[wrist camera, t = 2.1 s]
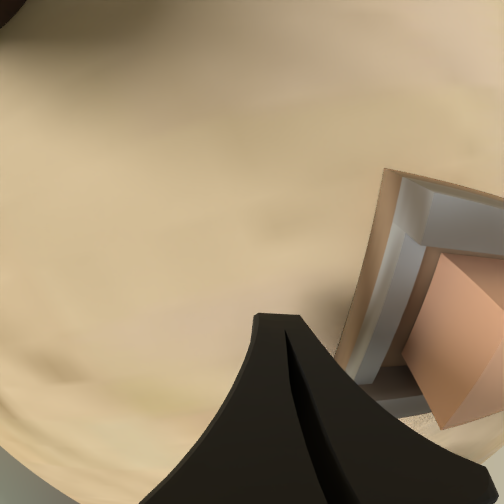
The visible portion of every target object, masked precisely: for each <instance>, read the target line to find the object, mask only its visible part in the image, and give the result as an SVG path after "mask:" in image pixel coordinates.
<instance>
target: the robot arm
mask: <svg viewBox="0 0 504 504" xmlns="http://www.w3.org/2000/svg"><path fill="white" fill-rule="evenodd" d="M498 497H499V495H498V492H497V490H496V488H495V485H494V483H493V481H492V479H491V476H490V474H489V472H488V470H487V468H486V467H485V466H482V465H480V464H477V463H475V462H473V461H470V460H468V459H465V458H463V457H461V456H459V455H456V454H454V453H452V452H450V451H448V450H446V449H444V448H442V447H441V446H439V445H437V444H435V443H433V442H432V441H430V440H428V439H426V438H425V437H423V436H422V435H420V434H418V433H417V432H415V431H414V430H412V429H411V428H410V427H408V426H407V425H405V424H404V423H402V422H401V421H400V420H398V419H397V418H395V417H394V416H393V415H392V414H390V413H389V412H388V411H386V410H385V409H384V408H383V407H382V406H381V405H379V404H378V403H377V402H376V401H375V400H374V399H372V398H371V397H370V396H369V395H368V394H367V393H366V392H365V391H364V390H363V389H361V388H360V387H359V386H358V385H357V384H356V382H355V381H354V380H353V379H352V378H351V377H350V376H349V375H348V374H347V373H346V372H345V371H344V370H343V369H342V368H341V366H340V365H339V364H338V363H337V362H336V361H335V359H334V358H333V357H332V356H331V355H330V353H329V352H328V351H327V350H326V349H325V347H324V346H323V345H322V344H321V342H320V341H319V340H318V338H317V337H316V336H315V334H314V333H313V332H312V330H311V329H310V328H309V327H308V325H307V324H306V323H305V321H304V320H303V319H302V317H301V316H300V315H289V314H269V313H257V314H256V315H254V318H253V326H252V334H251V342H250V345H249V348H248V351H247V354H246V357H245V359H244V362H243V364H242V367H241V369H240V371H239V373H238V375H237V377H236V380H235V382H234V384H233V386H232V388H231V390H230V391H229V393H228V395H227V397H226V399H225V400H224V402H223V404H222V405H221V407H220V409H219V410H218V412H217V414H216V415H215V417H214V418H213V420H212V421H211V423H210V424H209V425H208V427H207V428H206V430H205V431H204V433H203V434H202V435H201V437H200V438H199V439H198V441H197V442H196V443H195V445H194V446H193V447H192V448H191V449H190V451H189V452H188V453H187V454H186V455H185V456H184V458H183V459H182V460H181V461H180V462H179V464H178V465H177V466H176V467H175V468H174V469H173V470H172V471H171V472H170V474H169V475H168V476H167V477H166V478H165V479H164V480H163V481H162V482H160V483H159V484H158V485H157V486H156V487H155V488H154V489H153V490H152V491H151V492H150V493H149V494H148V495H147V496H146V497H145V498H144V499H143V500H142V501H140V502H139V504H494V503H495V502H496V501H497V499H498Z"/></svg>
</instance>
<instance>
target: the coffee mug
mask: <svg viewBox="0 0 504 504" xmlns="http://www.w3.org/2000/svg"><path fill="white" fill-rule="evenodd" d="M25 2H26V0H0V28H2V27H3V26H4V25H5V24H6V23H7V22H8V21H9V20H10V19H11V18H12V17H13V16H14V15H15V14H16V13H17V12H18V10H19V9H20V8H21V7H22V5H23V4H24V3H25Z"/></svg>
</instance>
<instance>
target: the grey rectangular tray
mask: <svg viewBox="0 0 504 504" xmlns="http://www.w3.org/2000/svg"><path fill="white" fill-rule="evenodd" d="M441 253H449V254H458V255H467V256H476V257H485V258H494V259H502V260H504V198H501V197H498V196H495V195H492V194H488V193H485V192H481V191H478V190H474V189H471V188H467V187H464V186H460V185H456V184H452V183H448V182H444V181H440V180H436V179H432V178H428V177H424V176H419V175H415V174H410V173H406V172H401V171H396V170H391V169H386V168H384V172H383V178H382V183H381V188H380V193H379V198H378V203H377V207H376V212H375V216H374V221H373V225H372V230H371V234H370V238H369V242H368V246H367V250H366V254H365V258H364V262H363V265H362V269H361V273H360V277H359V280H358V284H357V287H356V291H355V294H354V298H353V301H352V304H351V308H350V311H349V314H348V317H347V321H346V324H345V327H344V330H343V333H342V336H341V339H340V342H339V345H338V348H337V351H336V354H335V357H334V359H335V361H336V362H337V363H338V364H339V365H340V366H341V368H342V369H343V370H344V371H345V372H346V373H347V374H348V375H349V376H350V377H351V378H352V379H353V380H354V381H355V382H356V384H357V385H358V386H359V387H360V388H361V389H363V390H364V391H365V392H366V393H367V394H368V395H369V396H370V397H371V398H372V399H374V400H375V401H376V402H377V403H378V404H379V405H381V406H382V407H383V408H384V409H385V410H386V411H388V412H389V413H390V414H392V415H393V416H394V417H395V418H403V417H409V416H415V415H420V414H425V413H430V412H432V411H431V409H430V407H429V405H428V403H427V401H426V399H425V397H424V395H423V393H422V391H421V389H420V388H419V386H418V384H417V382H416V380H415V378H414V376H413V374H412V372H411V371H410V369H409V367H408V365H407V363H406V361H405V360H404V358H403V356H402V354H401V353H402V351H403V349H404V347H405V344H406V342H407V340H408V338H409V336H410V333H411V331H412V329H413V326H414V324H415V322H416V319H417V317H418V315H419V312H420V310H421V307H422V305H423V302H424V300H425V297H426V294H427V292H428V289H429V286H430V284H431V281H432V278H433V275H434V273H435V270H436V267H437V264H438V261H439V258H440V255H441Z"/></svg>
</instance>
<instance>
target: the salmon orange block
mask: <svg viewBox="0 0 504 504" xmlns="http://www.w3.org/2000/svg"><path fill="white" fill-rule="evenodd" d="M401 354H402V356H403V358H404V360H405V361H406V363H407V365H408V367H409V369H410V371H411V372H412V374H413V376H414V378H415V380H416V382H417V384H418V386H419V388H420V389H421V391H422V393H423V395H424V397H425V399H426V401H427V403H428V405H429V407H430V409H431V411H432V413H433V415H434V417H435V419H436V421H437V423H438V425H439V427H440V430H444V429H448V428H451V427H455V426H458V425H462V424H465V423H468V422H471V421H474V420H477V419H480V418H483V417H486V416H489V415H492V414H495V413H497V412H500V411H503V410H504V260H502V259H494V258H485V257H476V256H467V255H458V254H449V253H441V255H440V258H439V261H438V264H437V267H436V270H435V273H434V275H433V278H432V281H431V284H430V286H429V289H428V292H427V294H426V297H425V300H424V302H423V305H422V307H421V310H420V312H419V315H418V317H417V319H416V322H415V324H414V326H413V329H412V331H411V333H410V336H409V338H408V340H407V342H406V344H405V347H404V349H403V351H402V353H401Z"/></svg>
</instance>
